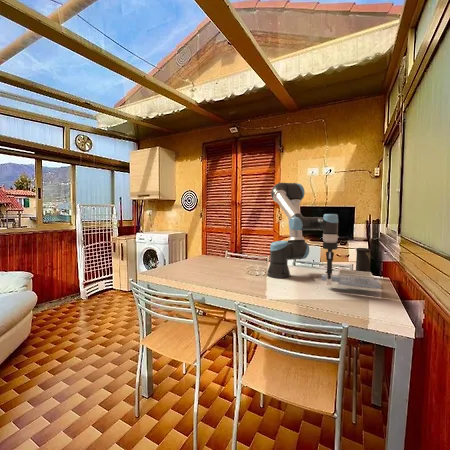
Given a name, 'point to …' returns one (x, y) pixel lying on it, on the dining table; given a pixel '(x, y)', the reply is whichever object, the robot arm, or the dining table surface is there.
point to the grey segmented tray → (354, 281)
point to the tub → (355, 274)
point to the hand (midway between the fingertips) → (329, 283)
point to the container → (363, 259)
